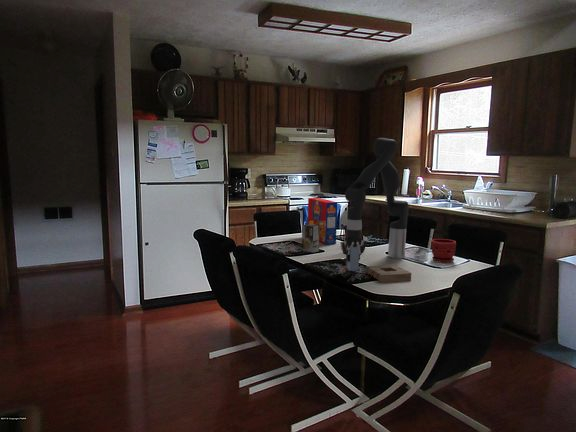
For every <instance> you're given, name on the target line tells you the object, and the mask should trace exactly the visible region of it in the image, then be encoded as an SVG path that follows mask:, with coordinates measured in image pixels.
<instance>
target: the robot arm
mask: <svg viewBox="0 0 576 432" xmlns="http://www.w3.org/2000/svg"><path fill="white" fill-rule="evenodd" d="M398 146H399V145H398V142H397V141H396V140H395V139H391V138H386V137H378V138H376V139H375V140H374V141H373V152H374V156H375V158H376V160H375V161H374V162H372V163H370V164H369V165H367V167H365V168H364V169H363V170H362V171H361V173H360V175H359V176H358V178H357V180H355V181H354V182H353V183H352V184H351V185H349V187H348V188H347V189H346V191H345V193H344V198H345V200H346V201H347V202H349V203H353V206H351V207H348V208H347V218H346V220H347V222H346V231H345V232H346V233H345V234H346V235H345V237H346V239H345V240H344V241H340V243H339V244H340V247H341V251H342V253H344V254H345V259H346V260H345V261H346V262H347V261H348V262H350V250H351V247H359V261H360V260H361V254H362V253H363V254H364V253H365V249H366V247H367V244H368V242H367V241H366V240H362V233H363V232H362V231H363V230H362V229H363V222H362V219H363V218H362V215H363V209H364V206H365V203H366V198H367V196H366V192H365V190H367V189H369V188H370V187H371V185H372V184H373V182H374V180H375V178H376V177H377V176H378V174H379V173H380V175H381V180H382V184H383V188H384V192H385V197H386V204H387V205H386V206H387V212H388V215H390V216H392V217H399V219H398V220H396V221H391V222H390V223H389V237H388V239H389V240H388V251H387V254H388V258H392V259H398V260H400V259H405V257H406V241H407V240H406V238H407V225H408V215H409V201H407V200H397V199H395V195H396V193H397V191H398V190H399V188H400V186H401V178H400V174H399V171H398V170H397V168H396V167H395V166H394V164H393V163H392V162H391V160H392V159H393V158H394V157H395V155H396V154H397V151H398ZM346 245H347V247H346ZM360 245H361V246H360ZM349 247H350V248H349Z"/></svg>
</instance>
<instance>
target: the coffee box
mask: <svg viewBox="0 0 576 432" xmlns="http://www.w3.org/2000/svg"><path fill="white" fill-rule="evenodd" d="M301 251H303V252H308V253H317V252H319V251H320V242H319V225H313V224H308V223H306V224H302V225H301Z"/></svg>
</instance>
